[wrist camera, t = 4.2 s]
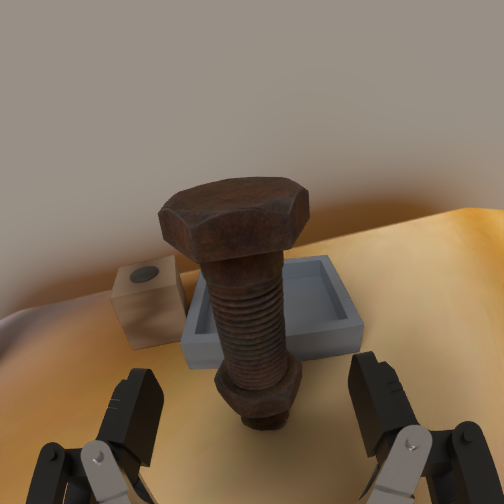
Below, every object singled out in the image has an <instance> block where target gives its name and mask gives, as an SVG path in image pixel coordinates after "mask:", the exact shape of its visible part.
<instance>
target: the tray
mask: <svg viewBox="0 0 504 504" xmlns="http://www.w3.org/2000/svg"><path fill="white" fill-rule="evenodd" d="M282 278H283V292H284V296H283V298H284V317H285V330H286V347H287V350H288V351H289V352H290V353H291V354H293V355H294V356H295V357H296V358H297V359H298V360H299V361H304V360H312V359H319V358H325V357H331V356H337V355H343V354H349V353H354V352H359V349H360V344H361V339H362V333H363V328H364V324H363V322H362V320H361V318H360V316H359V314H358V312H357V310H356V308H355V306H354V304H353V302H352V300H351V298H350V296H349V294H348V292H347V290H346V288H345V286H344V285H343V283H342V281H341V279H340V277H339V275H338V273H337V272H336V270H335V268H334V266H333V264H332V262H331V261H330V259H329V257H328V255H321V256H311V257H302V258H293V259H284V266H283V268H282ZM206 284H207V283H206V280H205V279H204V278H203V276H202V272H201V270H200V274H199V277H198V281H197V284H196V287H195V291H194V294H193V298H192V301H191V305H190V309H189V312H188V316H187V319H186V323H185V327H184V330H183V334H182V338H181V342H180V345H181V348H182V350H183V353H184V356H185V358H186V361H187V363H188V366H189V368H190V369H207V368H219V367H220V365H221V363H222V361H223V360H224V355H223V351H222V347H221V344H220V340H219V336H218V332H217V328H216V324H215V320H214V314H213V312H212V305H211V301H210V297H209V294H208V288H207V286H206Z"/></svg>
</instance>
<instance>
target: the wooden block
mask: <svg viewBox="0 0 504 504" xmlns="http://www.w3.org/2000/svg"><path fill="white" fill-rule="evenodd" d="M110 301H111V303H112V306H113V308H114V310H115V313H116V315H117V317H118V319H119V322H120V324H121V326H122V328H123V330H124V332H125V335H126V337H127V339H128V341H129V343H130V345H131V347H132V349H133V350H136V349H141V348H147V347H152V346H157V345H162V344H167V343H172V342H177V341H181V338H182V334H183V330H184V327H185V323H186V319H187V316H188V305H187V300H186V297H185V293H184V290H183V286H182V282H181V278H180V275H179V271H178V267H177V264H176V259H175V255H171V256H166V257H162V258H157V259H153V260H148V261H144V262H139V263H135V264H131V265H126V266H122V267H119V270H118V273H117V276H116V279H115V282H114V286H113V289H112V292H111V295H110Z"/></svg>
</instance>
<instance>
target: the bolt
mask: <svg viewBox="0 0 504 504" xmlns="http://www.w3.org/2000/svg"><path fill="white" fill-rule="evenodd" d="M158 217H159V221H160V226H161V230H162V235H163V239H164V240H165V241H166V242H168V243H169V244H170V245H172V246H173V247H175V248H176V249H177V250H179V251H180V252H181V253H183V254H184V255H186V256H187V257H189V258H190V259H191V260H193V261H194V262H195V263H197V264H200V268H201V272H202V276H203V278H204V279H205V280H206V283H207V284H206V286H207V288H208V294H209V297H210V301H211V305H212V312H213V314H214V320H215V324H216V328H217V332H218V336H219V340H220V344H221V347H222V351H223V355H224V360H223V361H222V363H221V365H220V367H219V369H218V371H217V373H216V376H215V378H214V381H215V384H216V387H217V390H218V392H219V393H220V395H221V396H222V397H223V398H224V400H225V401H226V402H227V403H228V404H229V406H230V407H231V408H232V409H233V410H234V411H235V412H236V413H238V414H239V415H240V416H241V419H242V422H243V424H244V425H246V426H248V427H250V428H252V429H256V430H261V431H262V430H276V429H280V428H282V427H283V426H284V425H285V423H286V420H285V419H288V416H289V409H290V408H291V406H292V404H293V402H294V399H295V397H296V394H297V391H298V388H299V385H300V382H301V378H302V364H301V363H300V361H299V360H298V359H297V358H296V357H295V356H294V355H293V354H291V353H290V352H289V351H288V350H287V347H286V330H285V317H284V298H283V296H284V292H283V278H282V268H283V266H284V255H283V250H289V249H291V248H292V246H293V245H294V243H295V241H296V240H297V238H298V237H299V235H300V233H301V232H302V230H303V228H304V226H305V225H306V223H307V221H308V220H309V218H310V213H309V193H308V190H306V189H305V188H304V187H302V186H301V185H299V184H298V183H296V182H294V181H292V180H290V179H287V178H283V177H245V178H231V179H225V180H221V181H217V182H212V183H207V184H203V185H199V186H196V187H194V188H190V189H187V190H184V191H180V192H178V193H176V194H175V195H173V196H172V197H171V198H170V199H169V200H168V201H167V202H166V203H165V204H164V206H163V207H162V208H161V210H160V211H159V212H158Z"/></svg>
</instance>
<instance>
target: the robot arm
mask: <svg viewBox="0 0 504 504" xmlns="http://www.w3.org/2000/svg"><path fill="white" fill-rule="evenodd" d="M348 388H349V393H350V396H351V399H352V403H353V406H354V410H355V413H356V417H357V420H358V424H359V427H360V431H361V434H362V438H363V442H364V446H365V449H366V453H367V457H372V456H375V455H376V458H377V461H378V463H377V464H376V466H375V468H374V470H373V472H372V474H371V476H370V478H369V480H368V482H367V483H366V485H365V487H364V489H363V490H362V492H361V494H360V496H359V497H358V499H357V500H356V502H355V503H354V504H413V503H414V499H415V497H414V491H415V488H416V486H417V484H418V481H419V479H420V477H425V476H426V480H427V484H428V488H429V493H430V497H431V502H432V504H504V495H503V491H502V487H501V484H500V480H499V477H498V474H497V471H496V468H495V465H494V462H493V459H492V456H491V453H490V450H489V448H488V445H487V442H486V440H485V437H484V435H483V432H482V430H481V428H480V427H479V425H477V424H476V423H474V422H471V421H465V422H462V423H460V424H459V425H458V426H457V427H456V428H455V429H454V430H443V431H430V430H427V429H426V428H425V427H423V426H421V425H420V424H419V423H418V422H417V420H416V417H415V415H414V413H413V410H412V408H411V406H410V403H409V401H408V399H407V396H406V394H405V392H404V390H403V387H402V385H401V383H400V382H399V379H398V376H397V374H396V372H395V370H394V369H393V368H392V367H391V366H390V365H389V364H388V363H387V362H386V361H384V362H380V363H378V362H377V359H376V357H375V355H374V353H373V352H372V351H369V352H364V353H359V354H354V355H353V357H352V361H351V366H350V371H349V376H348ZM163 404H164V394H163V391H162V389H161V387H160V385H159V383H158V381H157V379H156V378H155V376H154V374H153V372H152V370H151V369H141V368H133V369H131V371H130V373H129V376H128V379H127V380H122V381H121V382H120V383H119V384H118V385H117V386H116V388H115V389H114V392H113V395H112V397H111V400H110V402H109V405H108V408H107V410H106V413H105V416H104V419H103V421H102V424H101V427H100V430H99V433H98V436H97V438H96V440H94V441H90V442H88V443H87V444H86V445H85V446H84V447H83V448H78V449H64V448H63V447H62V446H61V445H59V444H58V443H55V442H50V443H47V444H46V445H44V446H43V448H42V449H41V451H40V454H39V457H38V460H37V464H36V467H35V470H34V474H33V477H32V481H31V484H30V488H29V492H28V496H27V500H26V504H63V498H64V494H65V489H66V485H67V483H68V485H67V490H66V494H65V499H64V504H158V503H157V501H156V500H155V498H154V496H153V495H152V493H151V491H150V490H149V488H148V486H147V485H146V483H145V481H144V479H143V478H142V476H141V474H140V473H139V470H140V466H145V467H150V463H151V458H152V453H153V448H154V444H155V439H156V434H157V430H158V425H159V421H160V417H161V412H162V408H163Z"/></svg>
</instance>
